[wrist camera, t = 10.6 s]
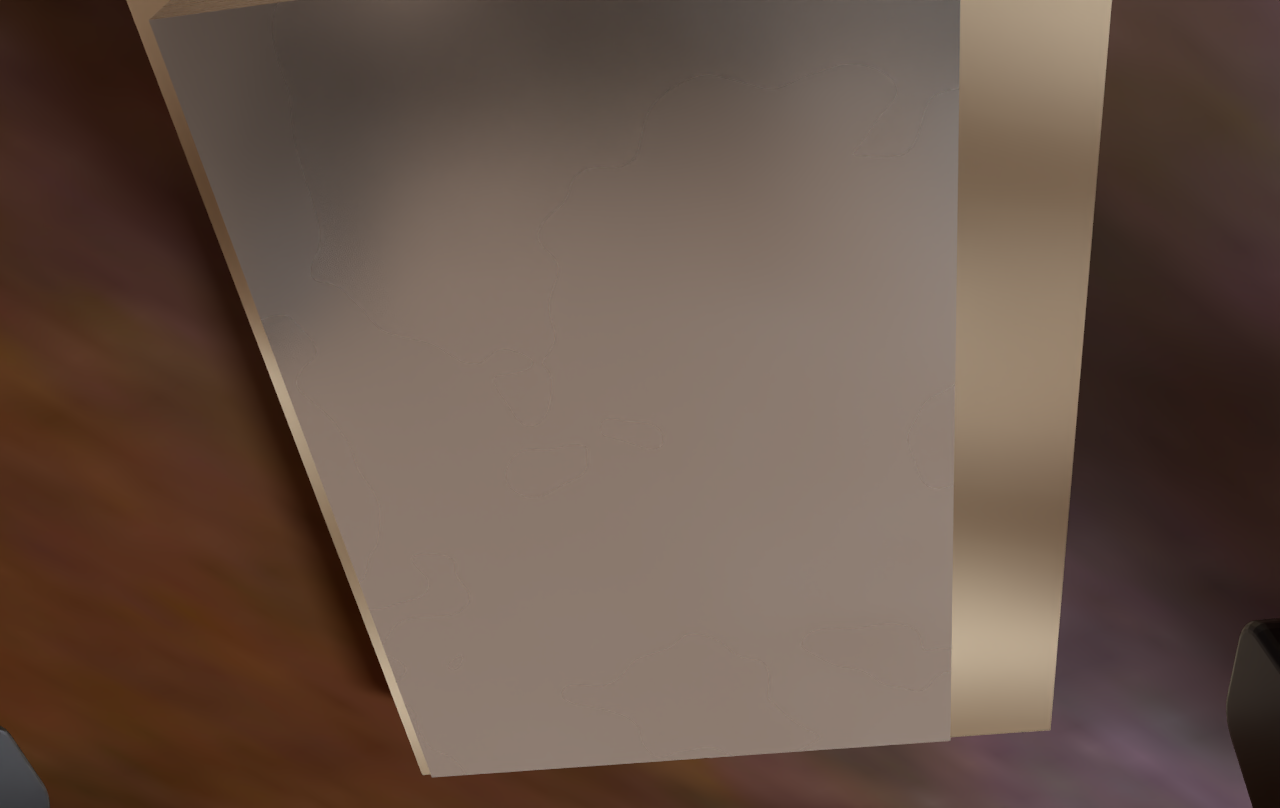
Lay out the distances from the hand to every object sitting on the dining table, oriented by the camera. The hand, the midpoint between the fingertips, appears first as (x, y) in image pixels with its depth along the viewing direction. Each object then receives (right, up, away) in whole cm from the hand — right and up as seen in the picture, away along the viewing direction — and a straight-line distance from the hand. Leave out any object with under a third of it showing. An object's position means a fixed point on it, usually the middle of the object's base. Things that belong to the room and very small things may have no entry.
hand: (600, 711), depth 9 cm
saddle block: (0, +5, +7) cm, 9 cm away
